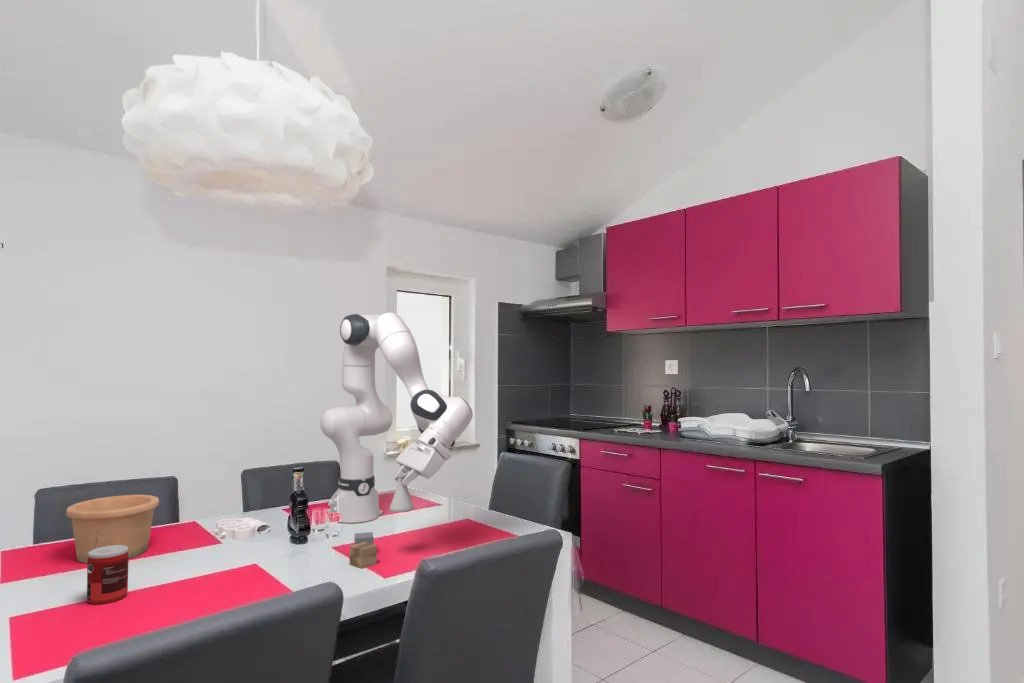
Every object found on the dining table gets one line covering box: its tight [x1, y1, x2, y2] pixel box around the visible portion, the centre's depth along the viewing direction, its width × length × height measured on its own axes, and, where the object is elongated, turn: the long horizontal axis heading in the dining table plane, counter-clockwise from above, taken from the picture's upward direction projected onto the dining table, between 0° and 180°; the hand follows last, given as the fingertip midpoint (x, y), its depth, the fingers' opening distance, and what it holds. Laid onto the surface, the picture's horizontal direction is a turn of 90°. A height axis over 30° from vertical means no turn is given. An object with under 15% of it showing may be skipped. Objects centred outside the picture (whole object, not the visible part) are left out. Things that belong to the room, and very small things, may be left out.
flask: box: [389, 473, 415, 513], centre depth 168 cm, size 7×7×10 cm
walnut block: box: [349, 542, 378, 570], centre depth 159 cm, size 5×5×5 cm
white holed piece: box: [212, 516, 272, 541], centre depth 189 cm, size 3×18×15 cm
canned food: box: [86, 545, 129, 605], centre depth 137 cm, size 8×8×11 cm
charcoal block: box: [353, 531, 375, 545], centre depth 169 cm, size 5×5×5 cm
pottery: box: [65, 494, 160, 564], centre depth 168 cm, size 22×22×14 cm
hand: (399, 482), depth 167 cm, fingers closed on flask, 3 cm apart
